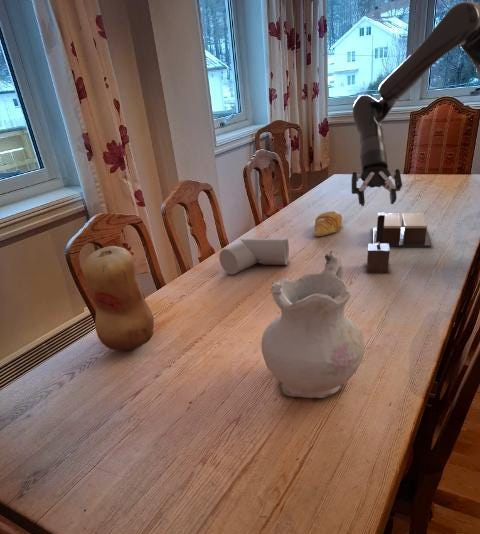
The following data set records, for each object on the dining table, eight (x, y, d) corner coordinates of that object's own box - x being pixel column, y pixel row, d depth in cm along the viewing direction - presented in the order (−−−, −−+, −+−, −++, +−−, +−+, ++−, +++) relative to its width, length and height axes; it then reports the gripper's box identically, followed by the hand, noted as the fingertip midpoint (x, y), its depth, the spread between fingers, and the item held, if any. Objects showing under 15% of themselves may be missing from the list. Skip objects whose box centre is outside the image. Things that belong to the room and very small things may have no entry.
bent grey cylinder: (257, 247, 152) (215, 266, 141) (260, 219, 146) (217, 237, 134) (296, 267, 143) (255, 290, 131) (301, 239, 136) (258, 260, 125)
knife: (380, 266, 132) (384, 212, 123) (380, 270, 130) (384, 215, 121) (373, 266, 132) (378, 212, 124) (374, 270, 130) (378, 215, 122)
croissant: (323, 248, 158) (332, 231, 153) (301, 233, 160) (309, 215, 155) (344, 229, 173) (354, 212, 167) (324, 215, 175) (332, 199, 169)
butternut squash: (93, 362, 100) (61, 263, 88) (115, 331, 112) (89, 240, 99) (149, 362, 98) (125, 261, 86) (166, 331, 110) (146, 238, 97)
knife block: (387, 264, 133) (389, 243, 129) (387, 273, 128) (389, 250, 124) (366, 264, 134) (368, 243, 131) (366, 272, 129) (368, 250, 126)
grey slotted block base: (424, 229, 156) (427, 211, 153) (430, 247, 141) (433, 227, 138) (373, 229, 161) (374, 211, 157) (373, 247, 146) (374, 227, 143)
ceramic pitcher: (286, 347, 100) (272, 247, 89) (372, 353, 93) (370, 244, 81) (255, 408, 83) (234, 294, 72) (358, 422, 76) (353, 296, 64)
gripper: (351, 150, 128) (354, 198, 124) (400, 146, 126) (406, 195, 122) (348, 165, 135) (351, 211, 131) (394, 161, 133) (399, 208, 129)
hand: (377, 203), depth 127 cm, fingers open, 8 cm apart
